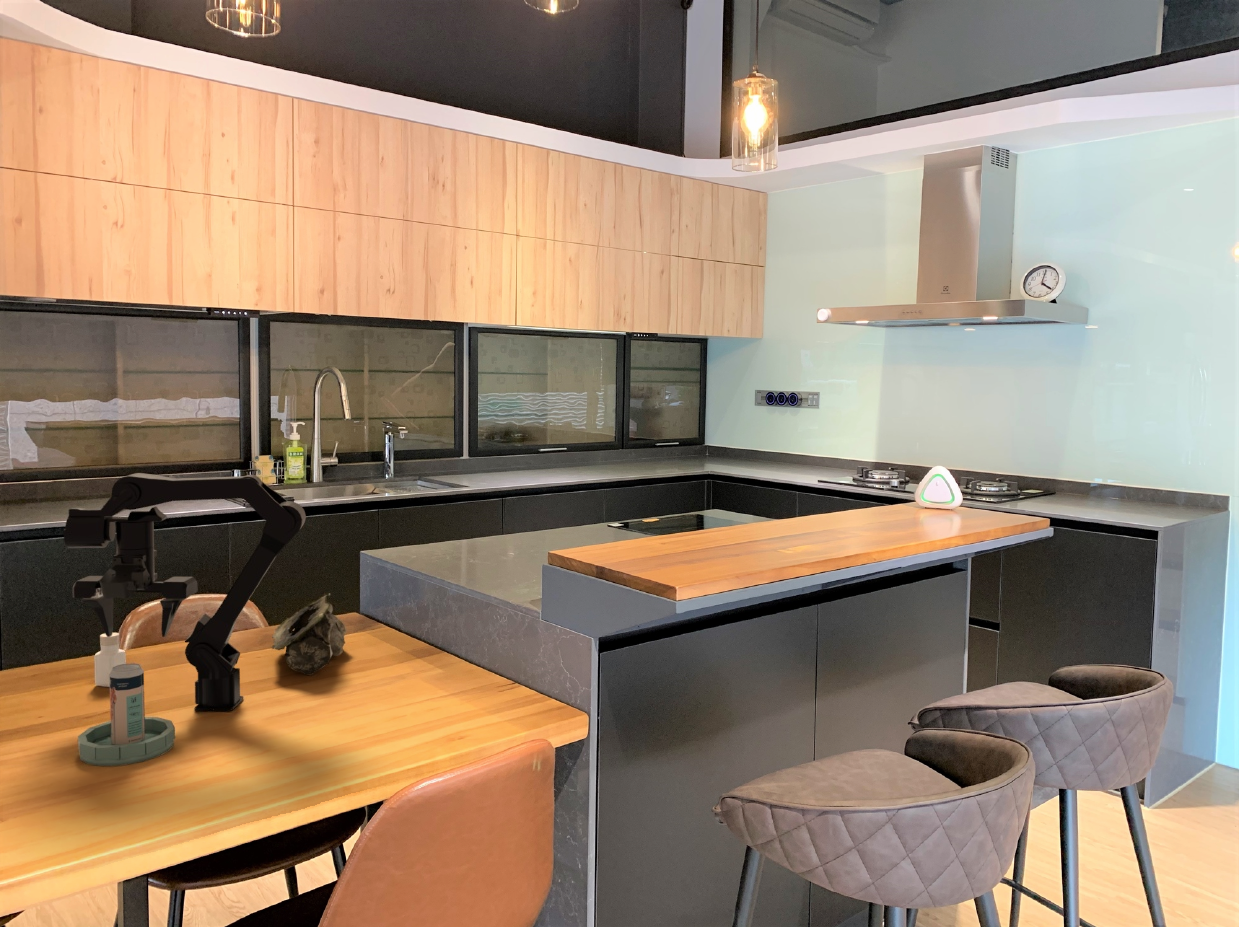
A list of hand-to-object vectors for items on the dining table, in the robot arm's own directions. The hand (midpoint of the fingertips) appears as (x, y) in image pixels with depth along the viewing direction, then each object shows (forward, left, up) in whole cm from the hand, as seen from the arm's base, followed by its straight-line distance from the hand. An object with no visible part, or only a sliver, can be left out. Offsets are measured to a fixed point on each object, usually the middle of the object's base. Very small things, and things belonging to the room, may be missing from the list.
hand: (137, 636), depth 161 cm
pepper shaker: (+11, -14, -13) cm, 22 cm away
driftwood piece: (-22, -28, -13) cm, 38 cm away
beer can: (-6, +18, -12) cm, 22 cm away
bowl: (-6, +18, -13) cm, 23 cm away
